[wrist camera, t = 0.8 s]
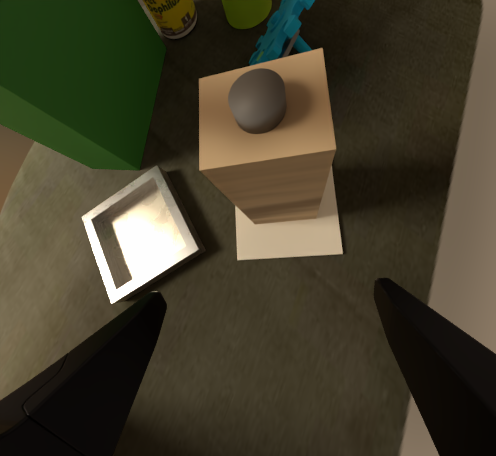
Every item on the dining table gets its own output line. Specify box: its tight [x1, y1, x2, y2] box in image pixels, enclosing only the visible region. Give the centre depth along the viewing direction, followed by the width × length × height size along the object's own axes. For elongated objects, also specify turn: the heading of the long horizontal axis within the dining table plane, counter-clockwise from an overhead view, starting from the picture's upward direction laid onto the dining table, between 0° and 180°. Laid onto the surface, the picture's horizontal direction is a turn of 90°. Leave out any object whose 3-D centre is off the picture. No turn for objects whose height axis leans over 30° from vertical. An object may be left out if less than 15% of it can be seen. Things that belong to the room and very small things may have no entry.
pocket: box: [82, 165, 206, 304], centre depth 25 cm, size 11×11×2 cm
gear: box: [249, 0, 315, 66], centre depth 23 cm, size 11×6×10 cm
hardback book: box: [0, 0, 167, 170], centre depth 19 cm, size 18×7×24 cm, turn 172°
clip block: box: [199, 48, 336, 224], centre depth 16 cm, size 5×6×14 cm
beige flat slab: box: [235, 165, 343, 260], centre depth 23 cm, size 12×10×1 cm
